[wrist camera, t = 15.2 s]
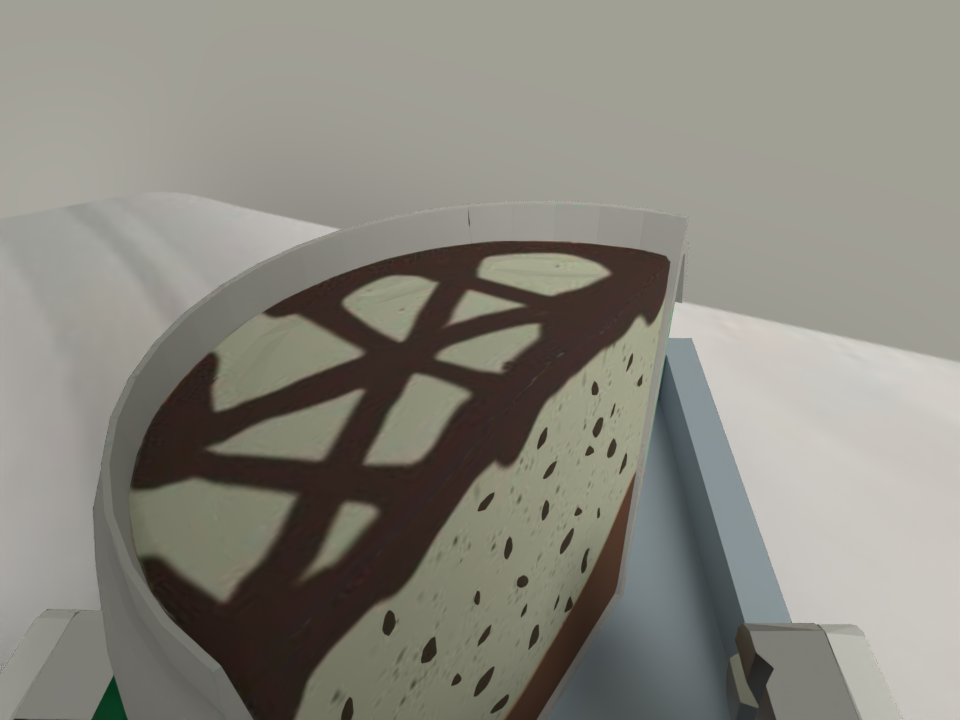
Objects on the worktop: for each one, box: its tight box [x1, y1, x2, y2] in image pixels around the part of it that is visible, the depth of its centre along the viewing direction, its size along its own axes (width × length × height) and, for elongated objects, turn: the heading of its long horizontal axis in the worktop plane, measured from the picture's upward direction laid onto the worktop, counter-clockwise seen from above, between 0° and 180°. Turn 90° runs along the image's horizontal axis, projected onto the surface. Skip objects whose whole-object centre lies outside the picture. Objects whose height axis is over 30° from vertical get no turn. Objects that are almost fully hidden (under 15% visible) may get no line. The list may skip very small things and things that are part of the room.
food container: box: [93, 201, 689, 720], centre depth 14 cm, size 12×6×10 cm, turn 146°
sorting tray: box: [548, 338, 792, 720], centre depth 18 cm, size 14×20×2 cm
